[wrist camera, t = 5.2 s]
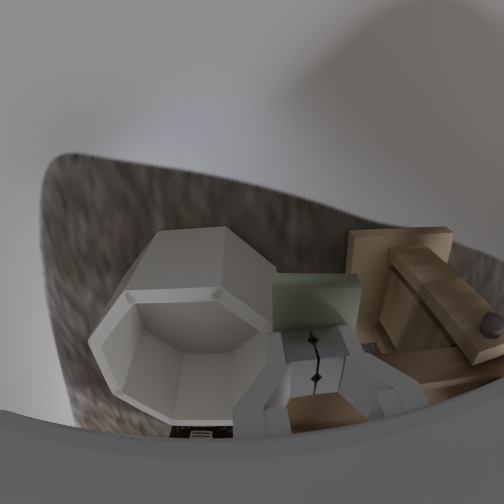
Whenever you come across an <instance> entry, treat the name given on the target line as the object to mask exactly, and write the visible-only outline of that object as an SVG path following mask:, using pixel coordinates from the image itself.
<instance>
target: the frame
mask: <svg viewBox="0 0 504 504" xmlns="http://www.w3.org/2000/svg"><path fill="white" fill-rule="evenodd" d="M453 236H454V233H453V232H452V231H451V230H449V229H448V228H447V227H419V228H392V229H367V230H349V234H348V246H347V257H346V267H345V274H357V275H358V278H359V281H360V284H361V287H362V292H361V298H360V304H359V310H358V316H357V321H356V327H355V334H356V336H357V338H358V340H359V342H360V344H367V343H373V342H376V344H377V346H378V348H379V350H380V352H381V353H394V352H409V351H421V350H432V349H442V348H452V347H459V348H460V349H461V351H462V352H463V353H464V355H465V356H466V357H467V359H468V360H469V362H470V363H471V365H472V366H473V365H476V364H479V363H482V362H485V361H487V360H490V359H493V358H496V357H498V356H501V355H504V319H503V317H502V316H500V315H499V314H498V313H497V312H496V311H495V310H494V309H493V308H492V307H491V306H490V305H489V304H488V303H487V302H486V301H485V300H484V299H483V298H482V297H481V296H480V295H479V294H478V293H477V292H476V291H475V290H474V289H473V288H472V287H471V286H470V285H469V284H468V283H467V282H466V281H465V280H464V279H463V278H462V277H461V276H460V275H459V274H457V273H456V272H455V271H454V270H453V269H452V268H451V267H450V266H449V265H448V259H449V255H450V251H451V246H452V241H453Z"/></svg>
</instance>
